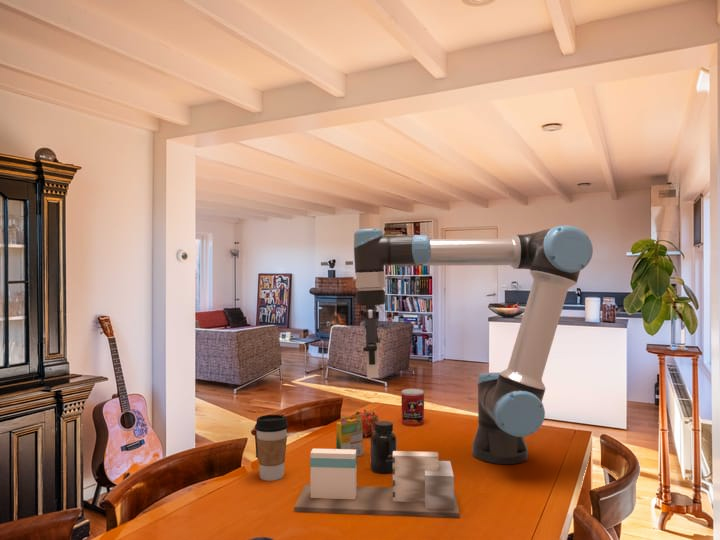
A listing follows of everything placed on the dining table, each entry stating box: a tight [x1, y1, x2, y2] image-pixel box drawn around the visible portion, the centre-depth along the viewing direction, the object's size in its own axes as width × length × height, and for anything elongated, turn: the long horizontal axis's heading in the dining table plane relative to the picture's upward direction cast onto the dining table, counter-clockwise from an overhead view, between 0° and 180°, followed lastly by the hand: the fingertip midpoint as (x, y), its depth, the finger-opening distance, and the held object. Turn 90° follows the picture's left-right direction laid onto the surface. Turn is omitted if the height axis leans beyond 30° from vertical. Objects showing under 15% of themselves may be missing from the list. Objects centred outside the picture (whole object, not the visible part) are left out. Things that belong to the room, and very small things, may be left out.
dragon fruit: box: [349, 409, 379, 438], centre depth 164 cm, size 8×8×12 cm
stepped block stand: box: [293, 450, 461, 519], centre depth 115 cm, size 35×12×11 cm, turn 85°
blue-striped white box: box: [309, 448, 358, 500], centre depth 116 cm, size 10×3×10 cm, turn 85°
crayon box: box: [335, 414, 364, 457], centre depth 145 cm, size 7×3×12 cm, turn 123°
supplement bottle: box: [370, 420, 398, 474], centre depth 135 cm, size 7×7×12 cm
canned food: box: [400, 388, 425, 427], centre depth 177 cm, size 8×8×11 cm
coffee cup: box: [254, 414, 289, 482], centre depth 130 cm, size 8×8×15 cm
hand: (373, 372), depth 132 cm, fingers open, 13 cm apart
